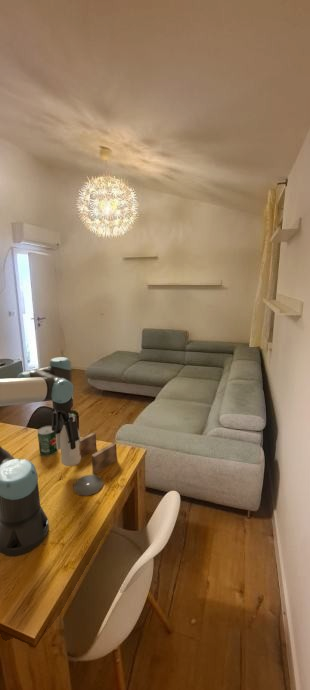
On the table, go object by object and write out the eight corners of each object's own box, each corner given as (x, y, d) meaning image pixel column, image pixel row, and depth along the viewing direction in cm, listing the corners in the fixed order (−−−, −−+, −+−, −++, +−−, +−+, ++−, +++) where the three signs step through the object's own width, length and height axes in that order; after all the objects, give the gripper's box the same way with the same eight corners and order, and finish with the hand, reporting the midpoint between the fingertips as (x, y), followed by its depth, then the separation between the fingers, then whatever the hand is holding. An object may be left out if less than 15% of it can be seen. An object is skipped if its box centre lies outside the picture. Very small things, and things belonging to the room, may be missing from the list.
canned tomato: (39, 449, 139) (36, 427, 137) (56, 444, 143) (54, 424, 140) (40, 458, 132) (38, 435, 130) (58, 453, 136) (56, 431, 133)
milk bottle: (78, 466, 117) (75, 420, 113) (58, 466, 117) (55, 419, 113) (83, 455, 124) (81, 411, 120) (64, 455, 124) (62, 411, 120)
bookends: (95, 474, 121) (94, 456, 119) (72, 459, 131) (71, 443, 129) (116, 460, 130) (116, 443, 128) (94, 447, 140) (93, 432, 138)
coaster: (85, 500, 107) (85, 498, 107) (68, 486, 114) (67, 485, 114) (108, 483, 115) (108, 482, 115) (90, 472, 122) (90, 471, 122)
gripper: (87, 401, 109) (89, 457, 114) (56, 388, 122) (59, 439, 127) (70, 408, 104) (73, 466, 109) (39, 394, 116) (43, 446, 121)
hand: (66, 451), depth 118 cm, fingers closed on milk bottle, 7 cm apart
